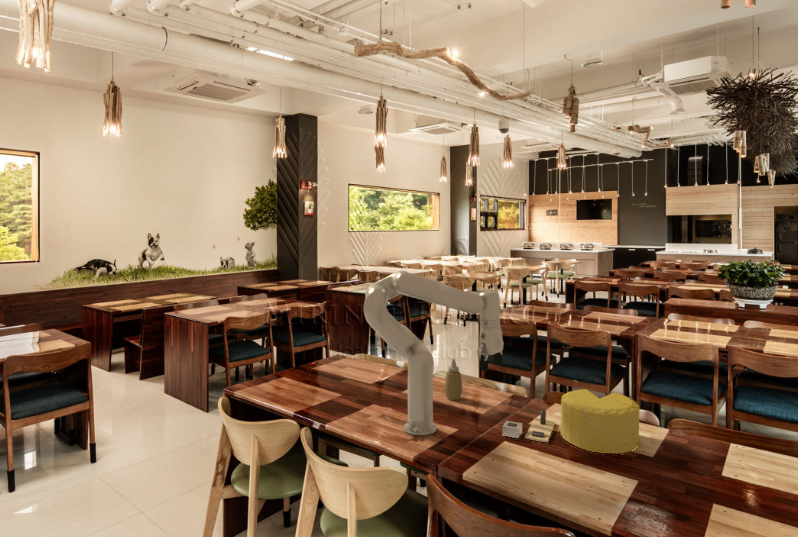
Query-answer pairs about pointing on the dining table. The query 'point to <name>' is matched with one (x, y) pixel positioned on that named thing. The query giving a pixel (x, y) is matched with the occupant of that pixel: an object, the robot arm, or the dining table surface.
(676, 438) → the dining table surface
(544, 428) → the peg board
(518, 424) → the link
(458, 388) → the squeeze bottle
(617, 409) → the cheese
